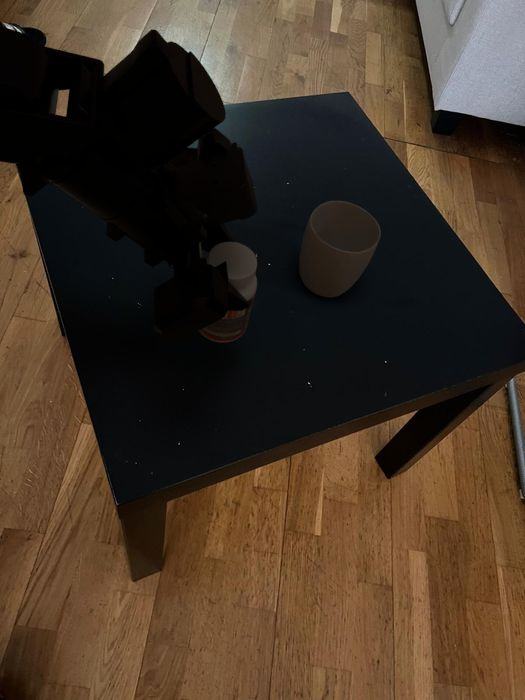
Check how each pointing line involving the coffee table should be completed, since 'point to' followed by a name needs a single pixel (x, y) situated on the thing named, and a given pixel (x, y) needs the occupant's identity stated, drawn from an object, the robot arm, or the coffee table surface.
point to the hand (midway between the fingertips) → (242, 283)
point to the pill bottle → (242, 279)
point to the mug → (337, 247)
